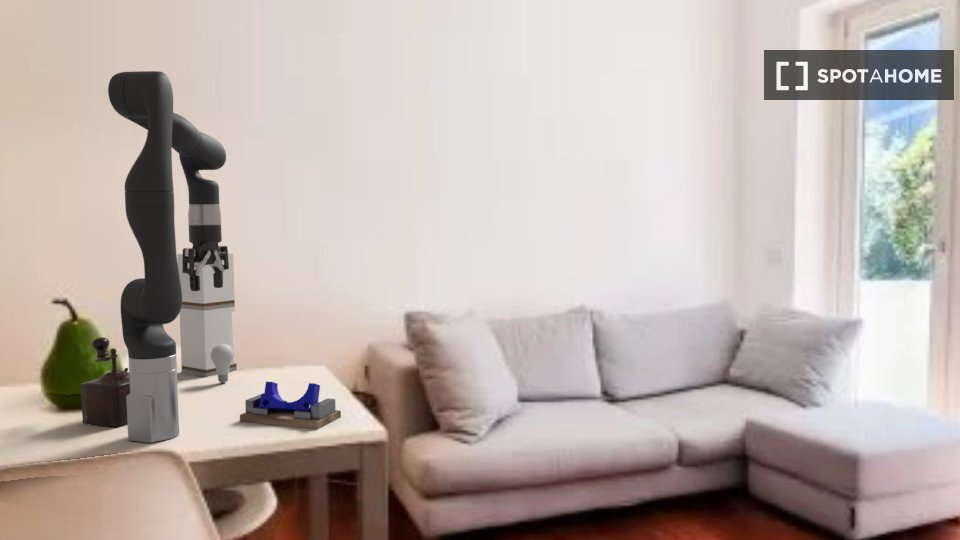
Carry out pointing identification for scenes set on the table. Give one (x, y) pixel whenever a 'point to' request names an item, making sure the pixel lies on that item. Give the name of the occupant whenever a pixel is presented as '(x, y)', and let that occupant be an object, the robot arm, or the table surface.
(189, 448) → the table surface
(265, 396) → the blue curved cradle
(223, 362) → the lightbulb
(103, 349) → the manual coffee grinder
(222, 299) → the white square pillar
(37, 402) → the table surface
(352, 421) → the table surface
